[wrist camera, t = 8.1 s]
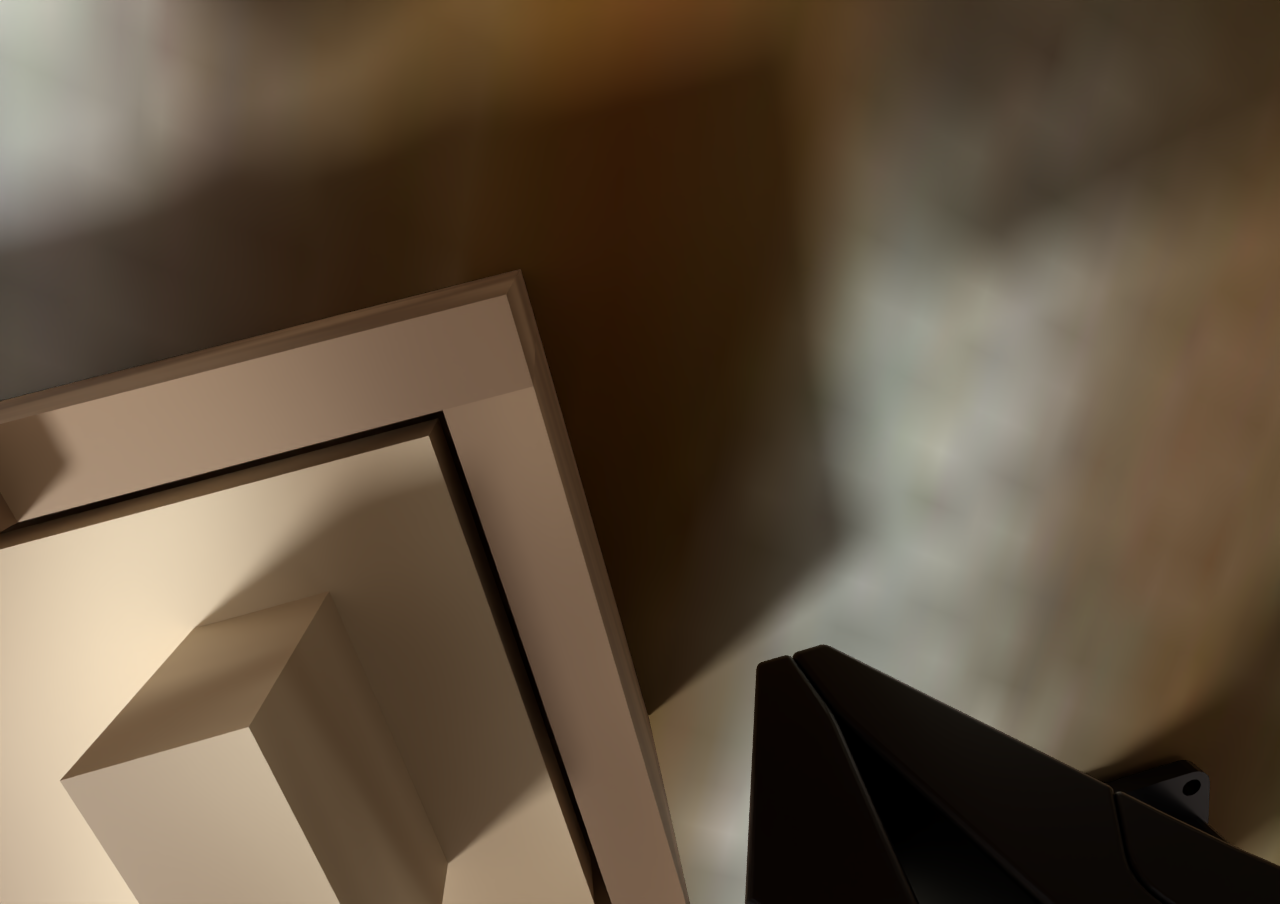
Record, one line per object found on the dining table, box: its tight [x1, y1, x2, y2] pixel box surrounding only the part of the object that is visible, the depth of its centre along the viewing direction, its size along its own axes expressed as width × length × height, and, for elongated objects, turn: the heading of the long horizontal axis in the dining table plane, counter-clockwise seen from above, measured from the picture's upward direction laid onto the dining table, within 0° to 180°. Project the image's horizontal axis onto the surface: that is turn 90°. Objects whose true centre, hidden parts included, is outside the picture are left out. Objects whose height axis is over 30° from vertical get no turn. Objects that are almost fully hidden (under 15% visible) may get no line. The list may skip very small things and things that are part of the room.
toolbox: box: [0, 269, 690, 904], centre depth 11 cm, size 16×10×6 cm, turn 103°
